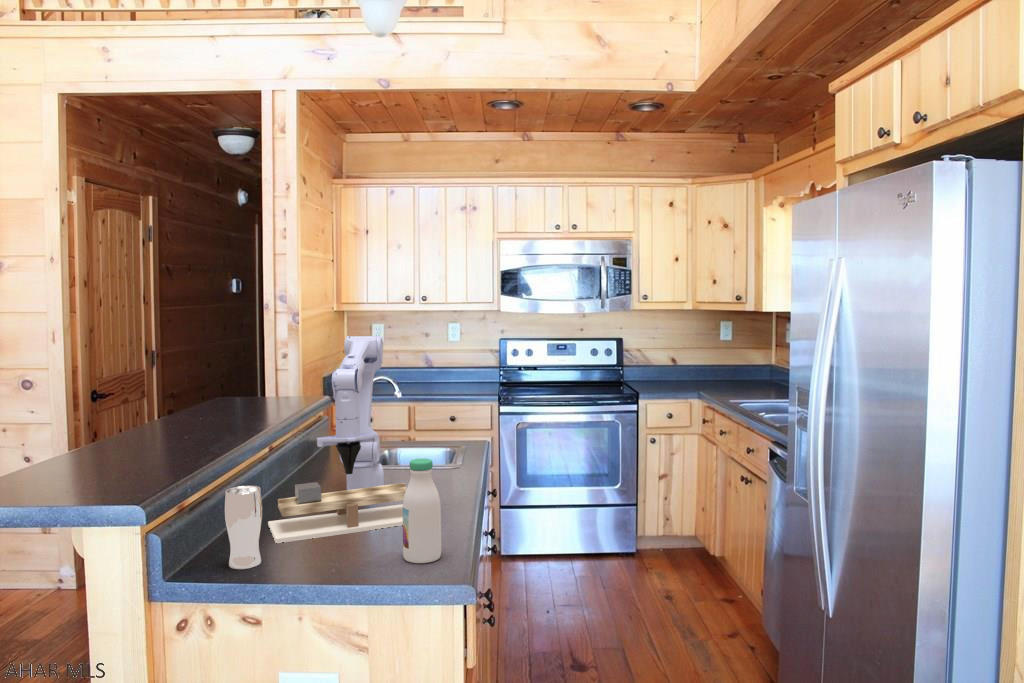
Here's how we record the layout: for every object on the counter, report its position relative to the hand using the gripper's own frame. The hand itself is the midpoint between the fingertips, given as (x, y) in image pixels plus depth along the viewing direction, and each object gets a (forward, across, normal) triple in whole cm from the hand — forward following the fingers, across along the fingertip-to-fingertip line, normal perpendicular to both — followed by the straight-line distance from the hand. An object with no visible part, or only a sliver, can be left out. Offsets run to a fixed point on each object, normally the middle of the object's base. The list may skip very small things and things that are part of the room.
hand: (348, 473), depth 177 cm
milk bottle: (+11, +7, -36) cm, 38 cm away
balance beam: (+5, -2, -7) cm, 9 cm away
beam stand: (+10, -2, -7) cm, 13 cm away
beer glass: (+11, -26, -24) cm, 37 cm away
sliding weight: (+4, -11, -7) cm, 13 cm away
